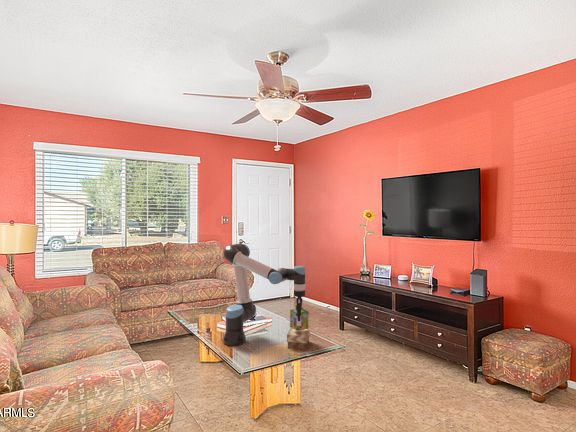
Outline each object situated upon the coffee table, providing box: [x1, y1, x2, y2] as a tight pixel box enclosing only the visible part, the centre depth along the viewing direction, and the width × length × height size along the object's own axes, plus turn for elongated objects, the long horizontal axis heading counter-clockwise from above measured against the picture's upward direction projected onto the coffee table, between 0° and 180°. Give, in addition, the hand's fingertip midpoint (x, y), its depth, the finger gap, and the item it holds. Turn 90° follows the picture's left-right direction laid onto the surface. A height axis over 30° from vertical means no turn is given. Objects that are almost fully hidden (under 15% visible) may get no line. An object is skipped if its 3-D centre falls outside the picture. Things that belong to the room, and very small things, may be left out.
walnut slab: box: [287, 338, 310, 350], centre depth 232 cm, size 13×13×4 cm
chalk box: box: [289, 305, 310, 331], centre depth 232 cm, size 9×9×15 cm
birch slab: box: [286, 327, 311, 343], centre depth 232 cm, size 13×13×4 cm
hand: (299, 322), depth 232 cm, fingers closed on chalk box, 12 cm apart
